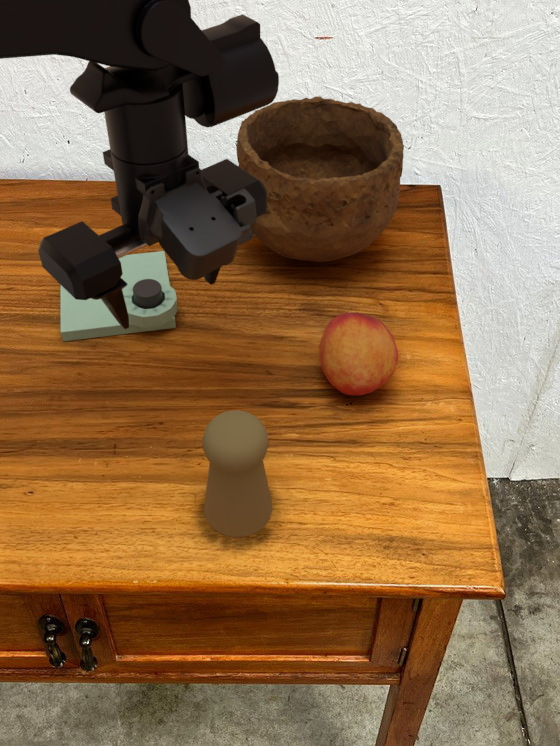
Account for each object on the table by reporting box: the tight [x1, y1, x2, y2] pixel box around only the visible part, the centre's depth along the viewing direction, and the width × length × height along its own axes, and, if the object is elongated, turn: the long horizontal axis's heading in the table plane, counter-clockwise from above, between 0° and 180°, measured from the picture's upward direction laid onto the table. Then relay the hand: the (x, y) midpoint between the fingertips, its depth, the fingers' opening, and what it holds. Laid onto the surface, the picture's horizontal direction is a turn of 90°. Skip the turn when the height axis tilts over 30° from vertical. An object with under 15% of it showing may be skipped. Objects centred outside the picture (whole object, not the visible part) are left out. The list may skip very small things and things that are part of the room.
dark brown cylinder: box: [133, 279, 163, 309], centre depth 82 cm, size 3×3×2 cm
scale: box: [59, 250, 179, 342], centre depth 86 cm, size 12×13×3 cm
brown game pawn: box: [202, 409, 274, 538], centre depth 64 cm, size 6×6×11 cm
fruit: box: [318, 312, 399, 396], centre depth 76 cm, size 8×8×8 cm
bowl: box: [236, 95, 405, 263], centre depth 89 cm, size 19×19×15 cm
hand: (168, 303), depth 69 cm, fingers open, 9 cm apart
